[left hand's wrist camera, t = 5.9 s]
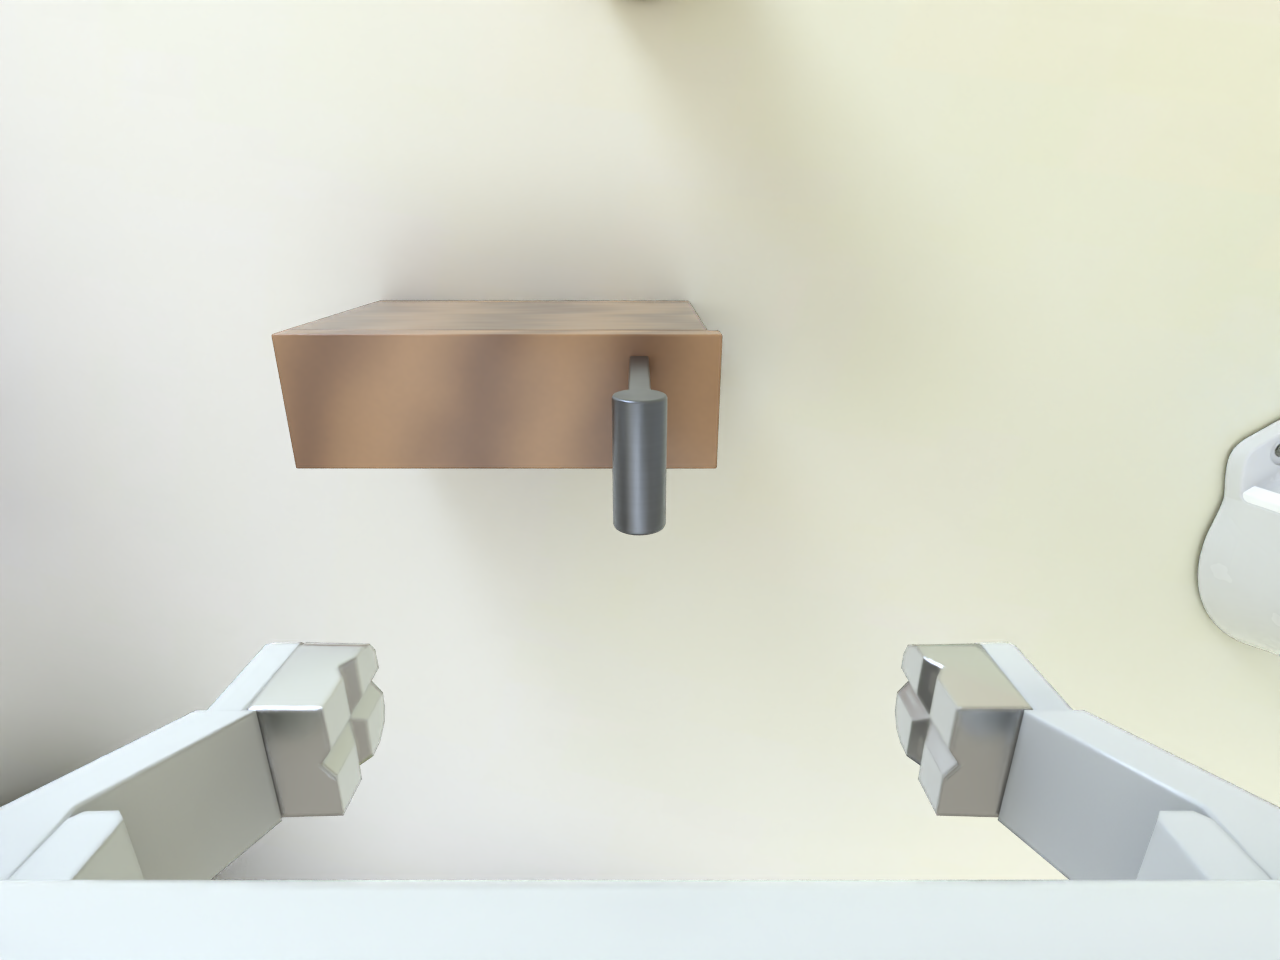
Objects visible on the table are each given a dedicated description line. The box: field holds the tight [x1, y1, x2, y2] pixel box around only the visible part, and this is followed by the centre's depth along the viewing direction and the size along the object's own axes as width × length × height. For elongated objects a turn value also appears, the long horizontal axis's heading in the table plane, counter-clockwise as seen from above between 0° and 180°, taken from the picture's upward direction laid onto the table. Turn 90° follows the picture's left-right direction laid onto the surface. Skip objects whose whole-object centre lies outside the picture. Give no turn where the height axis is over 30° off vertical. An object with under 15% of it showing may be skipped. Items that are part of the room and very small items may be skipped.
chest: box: [287, 300, 707, 330], centre depth 32 cm, size 16×5×10 cm, turn 90°
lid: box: [272, 330, 722, 535], centre depth 23 cm, size 17×5×9 cm, turn 90°
